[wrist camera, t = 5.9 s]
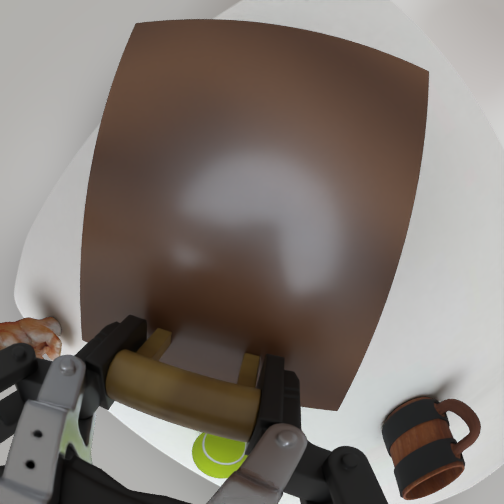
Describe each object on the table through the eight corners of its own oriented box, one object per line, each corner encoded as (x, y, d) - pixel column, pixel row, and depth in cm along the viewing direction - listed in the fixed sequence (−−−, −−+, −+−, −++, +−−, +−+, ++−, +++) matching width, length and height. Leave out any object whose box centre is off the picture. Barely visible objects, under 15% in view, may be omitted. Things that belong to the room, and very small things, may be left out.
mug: (466, 384, 25) (502, 443, 14) (405, 440, 29) (423, 501, 18) (435, 365, 25) (475, 436, 14) (367, 429, 29) (382, 501, 17)
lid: (335, 401, 13) (350, 480, 8) (89, 334, 13) (30, 381, 8) (422, 77, 9) (482, 29, 4) (142, 29, 10) (88, -23, 5)
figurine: (73, 350, 31) (6, 416, 16) (36, 318, 30) (-33, 371, 16) (78, 320, 29) (-3, 388, 15) (38, 286, 29) (-43, 337, 14)
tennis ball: (244, 451, 32) (237, 491, 25) (196, 438, 32) (182, 476, 25) (259, 426, 30) (252, 470, 23) (204, 410, 30) (189, 453, 23)
